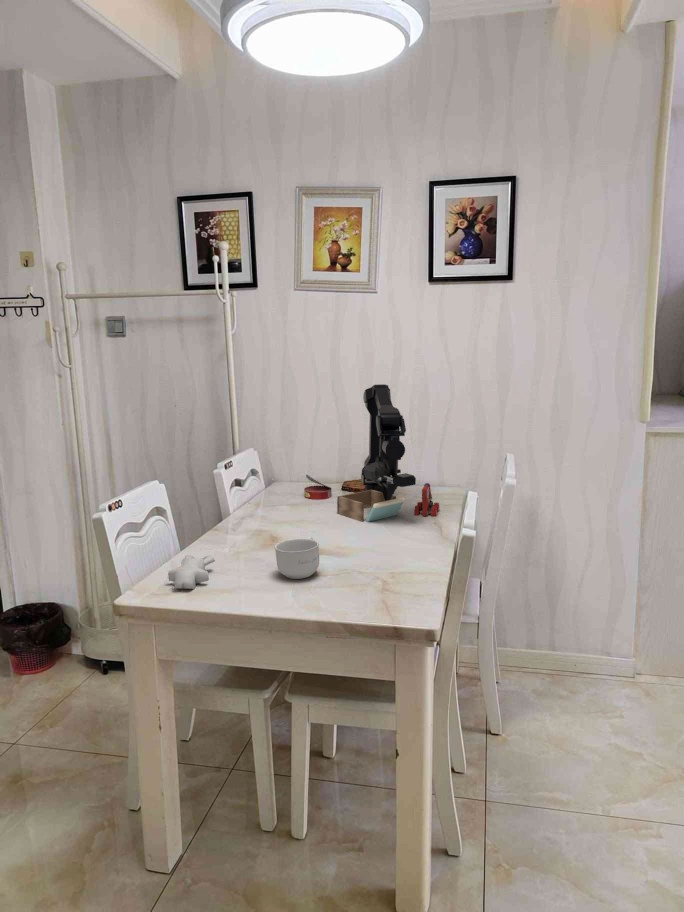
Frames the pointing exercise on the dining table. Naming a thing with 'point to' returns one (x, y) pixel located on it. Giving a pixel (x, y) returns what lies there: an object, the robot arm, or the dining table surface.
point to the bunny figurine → (190, 572)
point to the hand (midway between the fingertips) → (387, 502)
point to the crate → (358, 503)
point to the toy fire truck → (426, 503)
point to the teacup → (297, 557)
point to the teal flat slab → (385, 509)
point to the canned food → (317, 491)
